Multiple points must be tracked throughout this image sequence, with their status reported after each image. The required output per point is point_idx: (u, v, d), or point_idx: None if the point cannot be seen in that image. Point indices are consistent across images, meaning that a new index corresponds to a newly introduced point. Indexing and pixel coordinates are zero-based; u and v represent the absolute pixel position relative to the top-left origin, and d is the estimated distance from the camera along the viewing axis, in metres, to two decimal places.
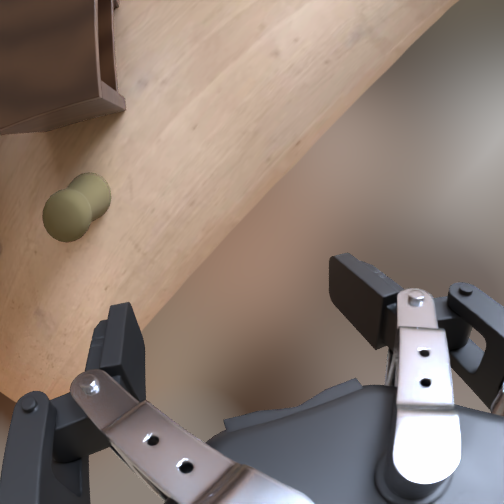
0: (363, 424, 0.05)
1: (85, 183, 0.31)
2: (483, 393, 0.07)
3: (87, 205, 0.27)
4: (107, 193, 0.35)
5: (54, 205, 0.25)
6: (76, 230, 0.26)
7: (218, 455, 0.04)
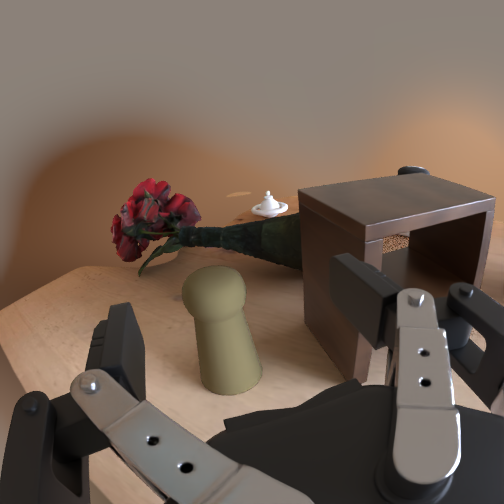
0: (363, 424, 0.05)
1: (250, 340, 0.27)
2: (483, 393, 0.07)
3: (226, 304, 0.23)
4: (237, 384, 0.26)
5: (228, 269, 0.26)
6: (196, 286, 0.24)
7: (218, 455, 0.04)
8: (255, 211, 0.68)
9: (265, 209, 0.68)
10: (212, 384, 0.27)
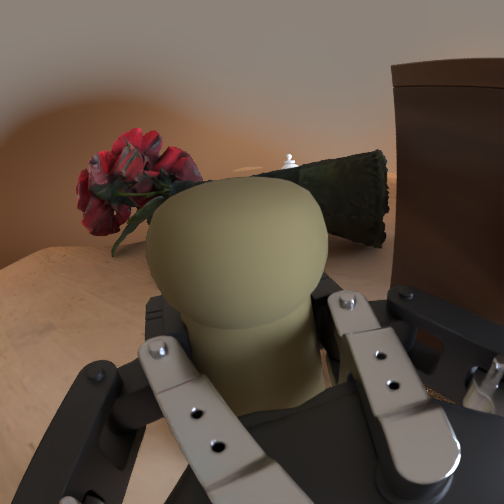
0: (363, 424, 0.05)
1: (321, 367, 0.11)
2: (447, 390, 0.08)
3: (284, 266, 0.07)
4: None
5: (276, 178, 0.09)
6: (186, 211, 0.07)
7: (252, 443, 0.05)
8: None
9: None
10: None
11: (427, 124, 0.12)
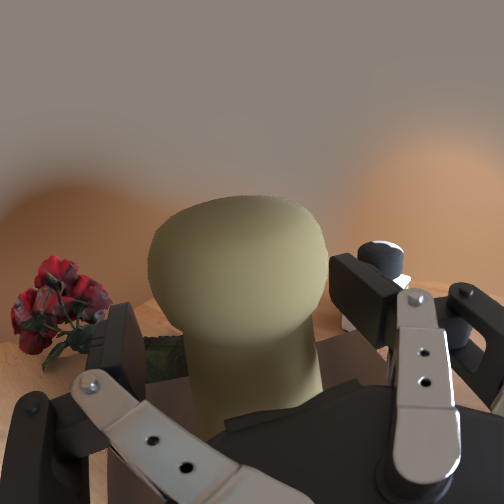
0: (363, 424, 0.05)
1: (320, 381, 0.11)
2: (483, 393, 0.07)
3: (285, 291, 0.07)
4: None
5: (277, 198, 0.09)
6: (188, 236, 0.07)
7: (218, 455, 0.04)
8: None
9: None
10: None
11: None
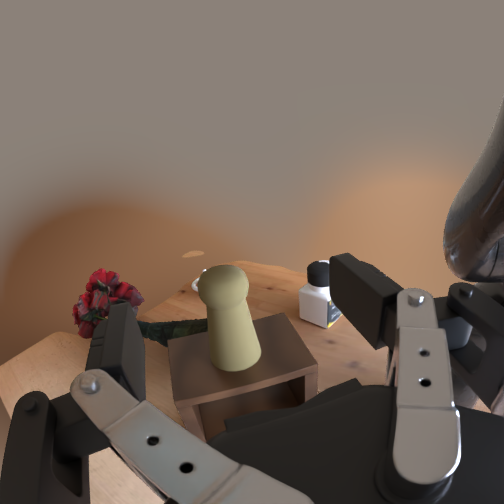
0: (363, 424, 0.05)
1: (251, 325, 0.34)
2: (483, 393, 0.07)
3: (233, 294, 0.30)
4: (240, 361, 0.33)
5: (234, 267, 0.32)
6: (210, 281, 0.30)
7: (218, 455, 0.04)
8: (193, 287, 0.78)
9: None
10: (220, 362, 0.34)
11: None
